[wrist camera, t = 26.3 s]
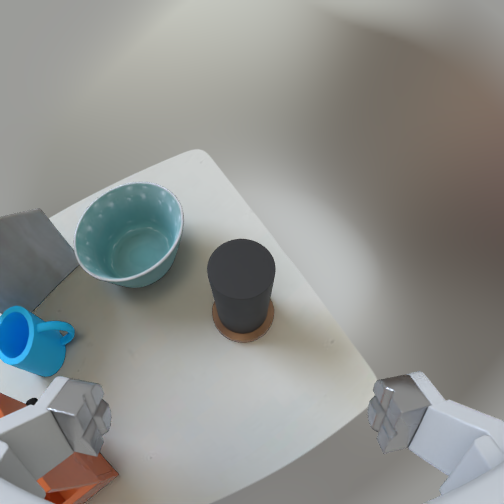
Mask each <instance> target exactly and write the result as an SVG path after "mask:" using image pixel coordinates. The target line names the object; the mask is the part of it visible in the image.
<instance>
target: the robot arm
mask: <svg viewBox="0 0 504 504" xmlns="http://www.w3.org/2000/svg"><path fill="white" fill-rule="evenodd" d="M373 392H374V393H375V396H374V397H373V398H372V399H371V400H370V402H369V406H368V420H369V424H370V425H371V428H372V429H373V430H375V431H377V432H378V436H377V441H378V443H379V445H380V447H381V449H382V452H383V454H384V453H389V452H393V451H397V450H401V449H404V448H408V449H409V450H410V451H412V452H413V453H415V454H416V455H418V456H419V457H421V458H422V459H423V460H425V461H427V462H428V463H429V464H431V465H433V466H434V467H435V468H437V469H439V470H440V471H442V472H443V473H445V474H446V475H448V476H449V477H448V478H447V479H446V481H445V482H444V483H443V484H442V485H441V487H440V489H439V491H440V493H441V496H439V497H436V498H435V499H432V500H429V501H427V502H425V503H422V504H504V421H503V420H500V419H497V418H495V417H492V416H490V415H487V414H484V413H482V412H479V411H477V410H474V409H472V408H469V407H467V406H464V405H462V404H459V403H456V402H454V401H452V400H447V401H446V400H445V399H444V398H443V397H442V395H441V394H440V393H439V391H437V389H436V388H435V387H434V385H433V384H432V383H431V382H430V380H429V379H428V378H427V377H426V376H425V374H424V373H423V372H420V371H417V372H413V373H409V374H406V375H401V376H397V377H391V378H386V379H381V380H377V381H376V383H375V385H374V388H373ZM103 395H104V391H103V389H102V386H101V385H99V384H98V383H92V382H87V381H82V380H77V379H72V378H66V377H62V376H58V377H55V379H54V380H53V381H52V383H51V384H50V385H49V386H48V388H47V389H46V390H45V392H44V393H43V394H42V396H41V397H40V398H39V400H38V401H37V402H36V404H35V405H28V406H26V407H24V408H22V409H20V410H17V411H15V412H13V413H11V414H8V415H6V416H4V417H2V418H0V504H55V503H52V502H50V501H48V500H45V499H44V498H45V496H46V492H45V490H44V489H43V488H42V487H41V486H40V485H39V483H38V482H37V480H38V479H39V478H41V477H42V476H44V475H45V474H46V473H48V472H49V471H50V470H52V469H53V468H54V467H56V466H57V465H58V464H60V463H61V462H62V461H64V460H65V459H66V458H68V457H69V456H70V455H72V454H73V453H74V451H75V452H79V453H83V454H87V455H91V456H96V457H97V456H98V454H99V451H100V449H101V447H102V445H103V442H104V441H103V439H102V435H104V434H105V433H107V432H108V431H109V428H110V426H111V417H112V416H111V410H110V407H109V405H108V403H106V402H105V401H104V400H103V399H102V397H103Z"/></svg>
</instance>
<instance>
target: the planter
mask: <svg viewBox="0 0 504 504" xmlns="http://www.w3.org/2000/svg"><path fill="white" fill-rule="evenodd" d="M78 265H79V263H78V261H77V258H76V256H75V252H74V250H73V248H72V247H71V246H70V245H69V244H68V242H67V241H66V240H65V239H64V237H63V236H62V235H61V234H60V233H59V231H58V230H57V229H56V227H55V226H54V225H53V224H52V222H51V221H50V220H49V218H48V217H47V216H46V215H45V213H44V212H43V211H42V210H41V209H40V208H37V209H33V210H28V211H24V212H19V213H14V214H10V215H5V216H1V217H0V313H1V314H3V313H4V311H6V310H7V309H8V308H10V307H13V306H21V307H24V308H25V309H26V310H28V311H29V312H32V311H33V310H34V309H35V308H36V307H37V306H38V305H39V304H40V303H41V302H42V301H43V300H44V299H45V297H46V296H47V295H48V294H49V293H50V292H51V291H52V290H53V289H54V288H55V287H56V286H57V285H58V284H59V283H60V282H61V281H62V280H63V279H64V278H65V277H66V276H67V275H68V274H70V273H71V272H72V271H73V270H74V269H75V268H76V267H77V266H78Z"/></svg>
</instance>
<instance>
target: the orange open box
mask: <svg viewBox="0 0 504 504" xmlns="http://www.w3.org/2000/svg"><path fill="white" fill-rule="evenodd" d="M77 453H78V454H79V456H80V457H81V458H82V460H83V461H84V462H85V463H86V464H87V466H88V467H89V468H90V469H91V470H92V472H93V473H94V474H95V475H96V476H97V477H98V478H99V480H100V481H99V482H98V483H97V484H93V485H89V486H84V487H79V488H74V489H69V490H63V491H57V492H50V493H46V496H45V498H44V499H45V500H48V501H50V502H52V503H55V504H83V503H84V502H85V501H87V500H88V499H89V498H91V497H92V496H93V495H94V494H96V493H97V492H98V491H99V490H101V489H102V488H103V487H104V486H106V485H107V484H108V483H109V482H111V481H112V480H113V479H114V478H116V477H117V476H118V475H119V474H118V473H117V472H116V471H115V470H114V468H113V467H112V466H111V465H110V464H109V463H108V462H107V461H106V460H105V458H104V457H103V456H102V455H101V454H100V453H99V454H98V456H97V457H96V456H91V455H87V454H83V453H79V452H77Z"/></svg>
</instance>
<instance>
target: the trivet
mask: <svg viewBox="0 0 504 504" xmlns="http://www.w3.org/2000/svg"><path fill="white" fill-rule="evenodd" d="M212 316H213V320H214V323H215V326H216V327H217V329H218V330H219V332H220V333H221V334H222V335H223V336H225V337H226V338H228V339H230V340H232V341H235V342H251V341H254V340H257V339H258V338H260V337H262V336H263V335H264V334H265V333H266V332H267V331H268V329H269V328H270V326H271V324H272V320H273V316H274V308H273V304H272V301H271V299H270V302H269V307H268V312H267V316H266V319H265V321H264V323H263V324H262V325H261V326H260V327H259V328H258V329H257V330H255V331H253V332H250V333H245V334H239V333H235V332H232V331H230V330H228V329H227V328H226V327H225V326H224V325H223V324H222V323H221V321H220V319H219V316H218V312H217V308H216V305H215V301H214V304H213V308H212Z"/></svg>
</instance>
